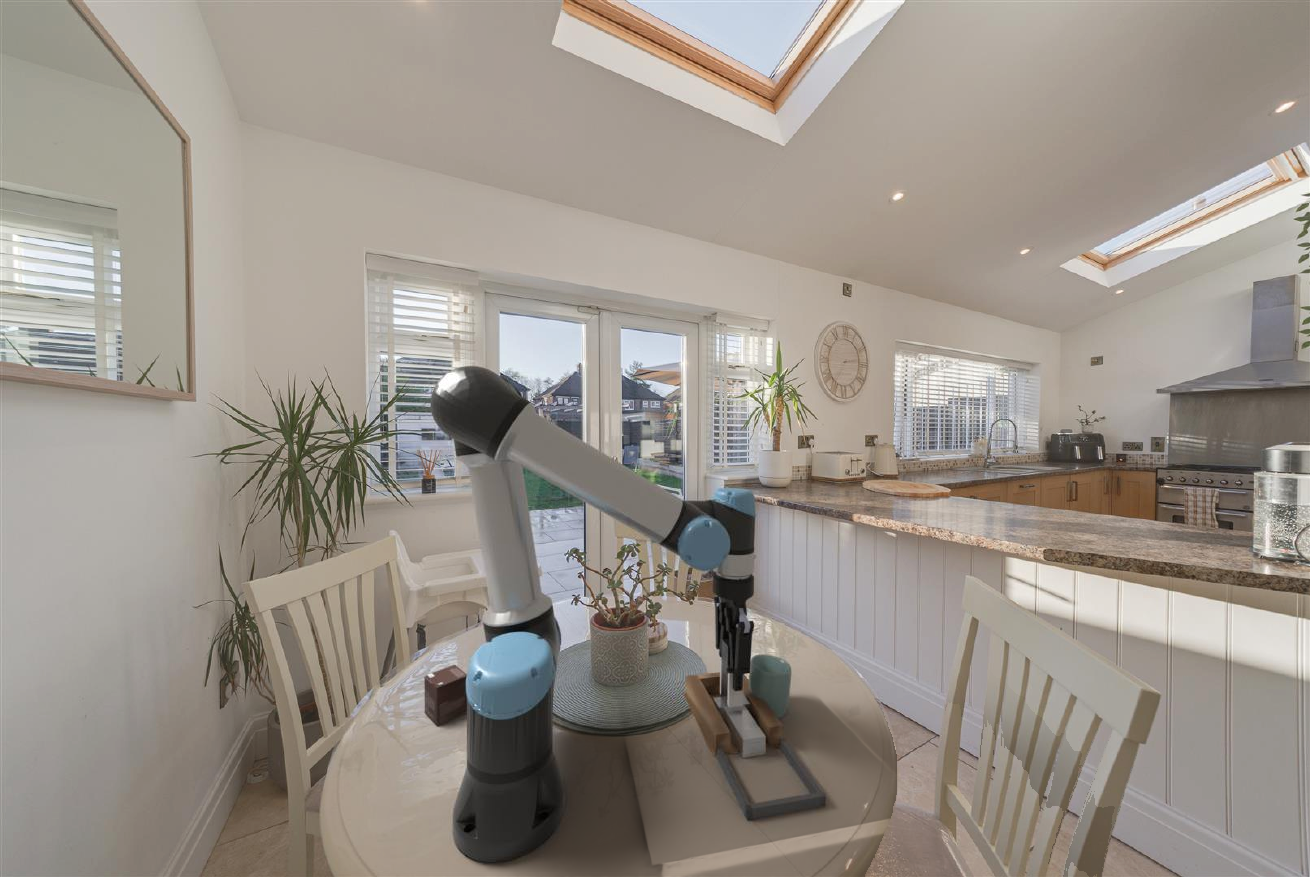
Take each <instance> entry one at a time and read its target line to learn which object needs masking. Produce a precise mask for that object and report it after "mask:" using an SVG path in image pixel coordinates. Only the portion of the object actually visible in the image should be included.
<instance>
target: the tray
mask: <svg viewBox="0 0 1310 877" xmlns="http://www.w3.org/2000/svg"><path fill="white" fill-rule="evenodd" d="M779 750H780V751H781V753H782V754H783V756H784V757H785V758H786V760H787V761H788V763H789V764H790V766H791V767H792V768H793V770H794V772H795V773H796V775H797V776H798V777H799V778H800V780H801V782H802V783H803V784H804V786H805V787H806V789H807V790H808V791H809V792H808V793H805V794H800V795H795V796H794V795H793V796H788V797H783V798H782V797H781V798H776V799H771V800H766V801H760V802H755V803H750V801H749V799H748V797H747V795H746V793H745V791H744V789H743V787H742V785H741V783H740V781H739V780H738V778H737V776H736V774H735V771H734V769H733V768H732V766H731V764H730V762H729V760H728V758H727V756H726V755H725V754H724V752H723V750H722V748H719V749H717V756H716V759H717V761H718V763H719V766H720V767H721V770H722V772H723V774H724V776H725V778H726V780H727V782H728V784H729V786H730V788H731V790H732V793H733V795H734V796H735V799H736V801H737V802H738V805H739V807H740V809H741V811H742V813H743V816H744V817H745V820H746V821H747V822H748V821H754V820H755V821H756V820H759V819H765V818H769V817H775V816H776V817H777V816H780V815H787V814H791V813H792V814H793V813H798V812H803V811H809V810H814V809H820V808H824V807H826V806H827V805H826V801H827V798H826V797H827V796H826V794H825V793H824V791H823V790H822V789H821V787H820V785H818V783H817V781H816V780H815V779H814V777H813V776H812V775H811V773H810V772H809V770H808V769H807V768H806V767H805V765H804V764H803V763H802V761H801V760H800V759H799V757H798V756H797V754H796V753H795V752H794V750H793V749H792V747H791V746H790V744H788V741H786V739H785V738H783V739H781V740H780V747H779Z"/></svg>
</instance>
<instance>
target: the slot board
mask: <svg viewBox="0 0 1310 877" xmlns="http://www.w3.org/2000/svg"><path fill="white" fill-rule="evenodd" d="M748 685H749V678H747V676H746V674H743V695H744V696H745V698H746V699H747V700H748V702H749V703H750V714H751V716H752V717H753V719H754V720H755V722H756V723H757V725H758V726H759V728H760V729H761V731H762V732H763V733H764V735H765V736H766V746H765V750H766V749H771V748H772V749H773V748H780V740H781V739H784V737H783V736H784V725H783V723H782V722H781V720H779V719H780V718H777V717H776V716H775V714H774V713H773V712H772V710H771V709H770V708H769V706H768V705H767V704H766V702H765V701H764V700H762V699H759V698H757V697H755V696H754V695H752V694H751V692H750V691H749V687H748ZM683 696H684V697H685V700H686V703H687V704H688V707H689V709H690V711H691V713H692V715H693V717H694V719H695V722H696V724H697V726H698V727H699V730H700V732H701V735H702V736H703V738H704V740H705V743H706V745H707V747H708V748H709V749H708V750H709V751H710V754H711V755H712V757H717V749H719V748H722V750H723V752H724V754H725V756H726V755H733V754H737V753H739V754H740V752H739V751H738V749H737V747H736V745H735V744H734V742H733V740H732V738H731V736H730V731H729V729H728V728H727V726H726V724H725V722H724V721H723V719H722V717H721V715H720V713H719V712H718V710H717V708H716V706H715V705H714V703H713V698H717V697H721V694H720V672H711V673H709V672H708V673H701V674H700V673H699V674H692V675H686V676H685V692H683Z"/></svg>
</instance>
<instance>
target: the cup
mask: <svg viewBox="0 0 1310 877" xmlns="http://www.w3.org/2000/svg"><path fill="white" fill-rule="evenodd" d="M748 674H749V675H748V680H749V685H748V687H749V691H750V692H751V694H752V695H754V696H755V697H757V698H759V699H762V700H764V701H765V702H766V704H767V705H768V706H769V708H770V709H771V710H772V712H773V713H774V714H775V716H776V717H777V718H778V719H781V718H782V717H783V718H784V716H785V714H786V712H787V710H788V706H789V700H790V694H791V693H790V692H791V683H792V666H791V665H790V663H789V662H788V661H786V660H785V659H782V658H781V657H779V656H775V655H771V654H755V655H754V656H751V663H750V673H748Z"/></svg>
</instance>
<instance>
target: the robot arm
mask: <svg viewBox="0 0 1310 877" xmlns="http://www.w3.org/2000/svg"><path fill="white" fill-rule="evenodd" d="M429 401H430V404H429V405H430V406H429V407H430V412H431V415H432V418H433V420H434V422H435V424H436V425H437V427H438V428H439V429H440V431H441V432H442V433H443V434H444V435H446V436H447V437H449V438H451V439H452V440H453V445H454V450H455V456H456V459H457V460H458V461H460V462H461V463H463V464H464V465H466V467H467V468H468V474H469V476H468V477H469V480H470V486H471V487H470V488H471V493H472V500H473V506H474V511H475V512H474V513H475V519H476V525H477V532H478V538H479V544H480V550H481V551H480V552H481V557H482V562H483V568H484V569H483V570H484V576H485V580H486V581H485V583H486V587H487V594H488V600H489V601H488V602H489V607H488V608H487V609H486V611H484V614H483V615H482V619H481V620H482V625H483V631H484V638H485V642H484V643H483V644H481V646H480V647H478V649H477V650H476V651H475V652H474V653H473V655H472V657H471V659H470V660H469V664H468V668H467V673H466V674H467V678H466V694H467V712H466V769H465V771H464V775H463V778H462V781H461V784H460V787H459V790H458V792H457V796H456V799H455V802H454V805H453V812H452V838H453V840H454V843H455V845H456V847H457V849H458V850H459V851H460V852H461V853H462V854H464V855H465V856H466V855H467V857H468V858H471V859H472V860H475V861H478V862H484V861H485V862H484V863H499V862H506V861H510V860H513V859H517V858H520V857H523V856H525V855H526V854H528V853H530V852H532V851H534V850H536V848H537V847H539V846H541V845H542V844H543V843H544V842H545V841H546V840H548V838H549V837H550V836H551V835H552V834H553V833H554V831H555V830H556V829H557V827H558V825H559V824H560V822H561V820H562V817H563V814H564V810H565V785H564V784H565V783H564V779H563V777H562V773H561V771H560V768H559V765H558V762H557V759H556V756H555V753H554V751H553V750H554V749H553V746H554V744H553V740H554V738H553V736H554V735H553V734H554V732H553V730H554V728H553V727H554V724H553V723H554V693H555V684H556V677H557V676H556V675H557V671H558V670H557V668H558V662H559V655H560V651H561V646H562V633H561V627H560V626H559V622H558V619H557V618H556V616H555V611H554V605H553V600H552V598H551V597H550V596H549V595H547V594H545V593H543V590H542V586H541V579H540V573H539V567H538V560H537V553H536V547H535V540H534V535H533V528H532V527H533V526H532V522H531V516H530V508H529V503H528V497H527V496H528V494H527V491H526V482H525V478H524V470H523V468H524V469H525V470H528V471H529V472H531V473H533V474H535V475H536V476H538V477H539V478H541V479H543V480H545V481H547V482H548V483H550V484H552V485H554V486H556V487H558V488H560V489H561V490H563V491H564V492H566V493H568V494H569V495H572V497H575V498H577V499H579V500H580V501H582V502H584V503H586V504H588V505H590V506H591V507H593V508H595V509H597V510H598V511H600V512H602V513H603V514H605V515H607V516H609V517H610V518H613V519H614V520H616V521H618V522H619V523H621V524H623V525H625V526H627V527H628V528H631V529H632V530H633V531H635V532H636V533H637V532H638V533H639V534H641V535H643V536H644V537H646V538H648V539H650V540H651V542H653V543H654V544H658V545H660V546H661V547H663V548H665V549H666V550H667V551H670V552H672V553H673V554H675V555H677V556H678V557H680V558H681V560H682V561H683V563H684V564H686V565H688V566H689V567H691V568H692V569H693V570H696V571H703V572H706V571H707V572H708V571H711V570H712V571H713V573H712V593H713V594H714V597H713V602H714V610H715V611H714V613H715V616H714V617H715V618H714V619H715V620H714V622H715V629H714V630H715V648H716V650H718V655H719V658H720V659H719V660H720V663H719V664H720V665H719V667H720V669H719V671H720V694H721V663H722V639H726V638H729V647H730V668H727V669H726V670H727V673H728V696H727V705H728V707H736V706H743V674H744V675H747V674H749V673H750V663H751V659H752V643H753V632H754V628H755V621H753V620H749V619H748V617H747V615H748V609H747V603H746V602H747V601H748V600H749V599H751V598H752V597H753V596H754V594H755V577H754V575H753V574H754V572H755V559H756V558H757V556H756V555H757V554H755V539H756V538H755V537H756V535H755V534H756V517H757V514H756V501H755V500H756V498H755V495H754V493H753V492H752V491H751V490H749V489H746V488H740V487H725V488H723V487H722V488H721V487H720V488H717V489H715V491H714V492H713V497H712V499H708V500H707V499H706V500H683V499H681V498H680V497H678V496H676V495H675V494H674V493H672V492H670V491H668V490H666V489H665V488H663V487H661V486H660V485H658V484H656V483H654V482H653V481H651V480H649V479H648V478H646V477H645V476H643V475H641V474H640V473H637V472H636V471H634V470H632V469H631V468H629V467H627V466H626V465H624V464H623V463H621V462H620V461H617V460H615V459H614V458H612V457H611V456H609V455H607V454H606V453H604V452H602V451H601V450H599V449H598V448H595V447H594V446H592V445H590V444H588V443H587V442H586V441H584V440H582V439H580V438H578V437H577V436H575V435H573V434H572V433H570V432H568V431H567V430H565V429H563V428H561V427H560V426H558V425H556V424H555V423H553V422H552V421H550V420H548V419H546V418H545V417H543V416H542V415H540V414H538V413H537V411H536V407H535V404H534V403H533V402H531V401H529V400H528V399H527V398H525V397H523V395H522V392H521V391H520V389H519V388H518V387H517V386H516V385H515V384H514V383H513V382H511V381H510V380H509V379H508V378H505V377H503V376H501V375H499V374H497V373H496V372H494V371H493V370H490V369H488V368H485V367H483V366H476V365H465V366H460V367H457V368H454V369H451V370H449V371H448V372H446V373H445V374H443V376H441V377H440V379H439V380H438V381H437V382H436V383H435V385H434V388H433V389H432V391H431V397H430V400H429Z"/></svg>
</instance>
